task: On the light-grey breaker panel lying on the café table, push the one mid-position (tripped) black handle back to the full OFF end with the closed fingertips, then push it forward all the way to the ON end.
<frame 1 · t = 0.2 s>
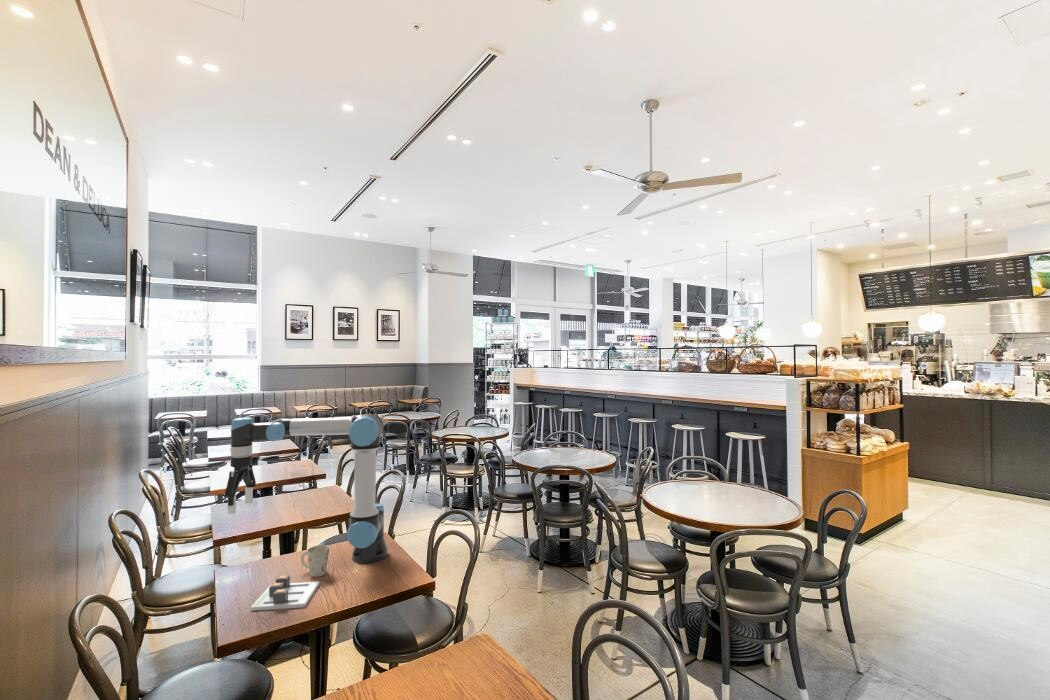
hand: (240, 508, 190), 28 cm above the table, fingers open, 13 cm apart
breaker 3: (280, 595, 167), point 3 cm above the table, slide at 0.0 cm
panel: (287, 596, 173), on the table
mug: (313, 573, 193), on the table
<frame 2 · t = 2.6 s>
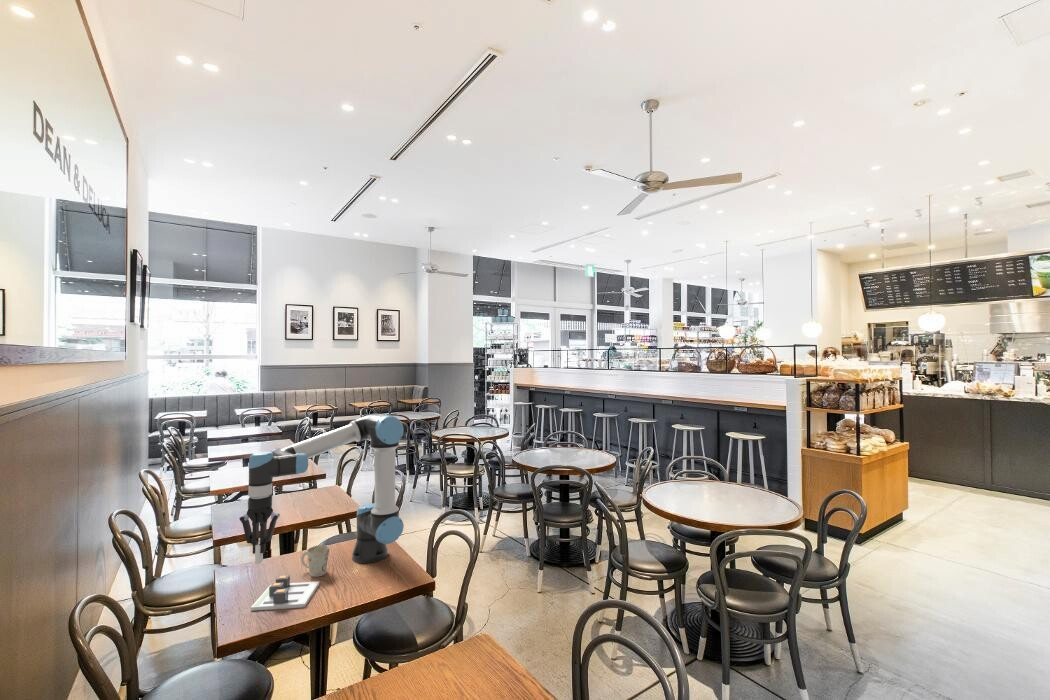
hand: (258, 562, 166), 16 cm above the table, fingers closed
nothing on the table moved.
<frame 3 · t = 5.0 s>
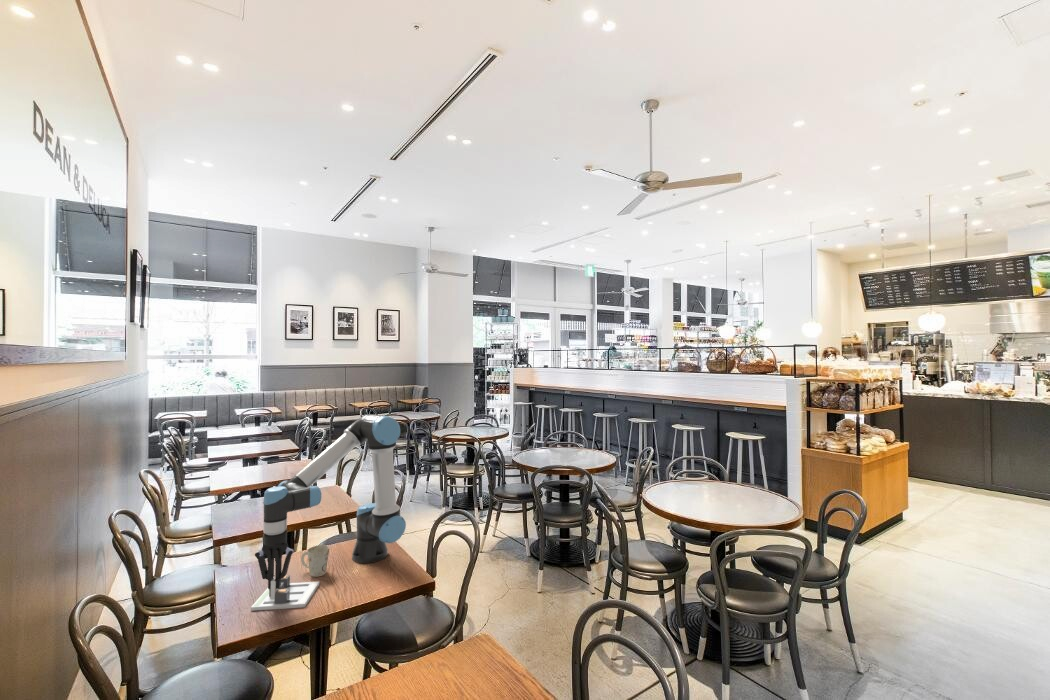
hand: (274, 597, 167), 3 cm above the table, fingers closed
breaker 3: (282, 595, 167), point 3 cm above the table, slide at -0.5 cm, touching gripper
everything else where it was.
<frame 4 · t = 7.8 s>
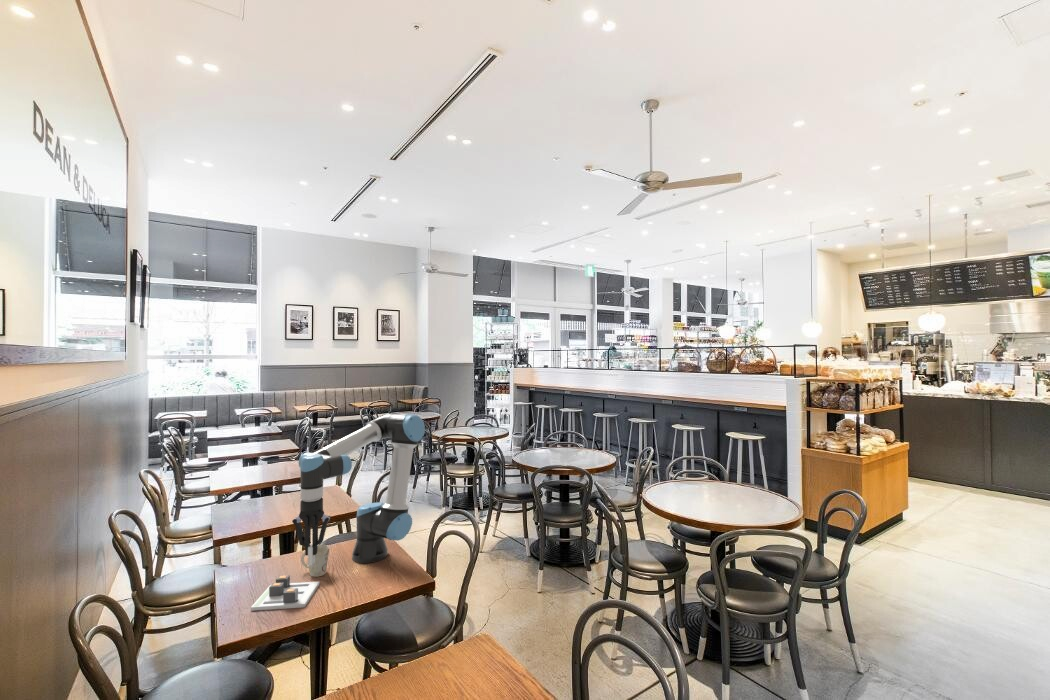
hand: (311, 563, 169), 14 cm above the table, fingers closed
breaker 3: (290, 595, 167), point 3 cm above the table, slide at -3.4 cm
everything else where it was.
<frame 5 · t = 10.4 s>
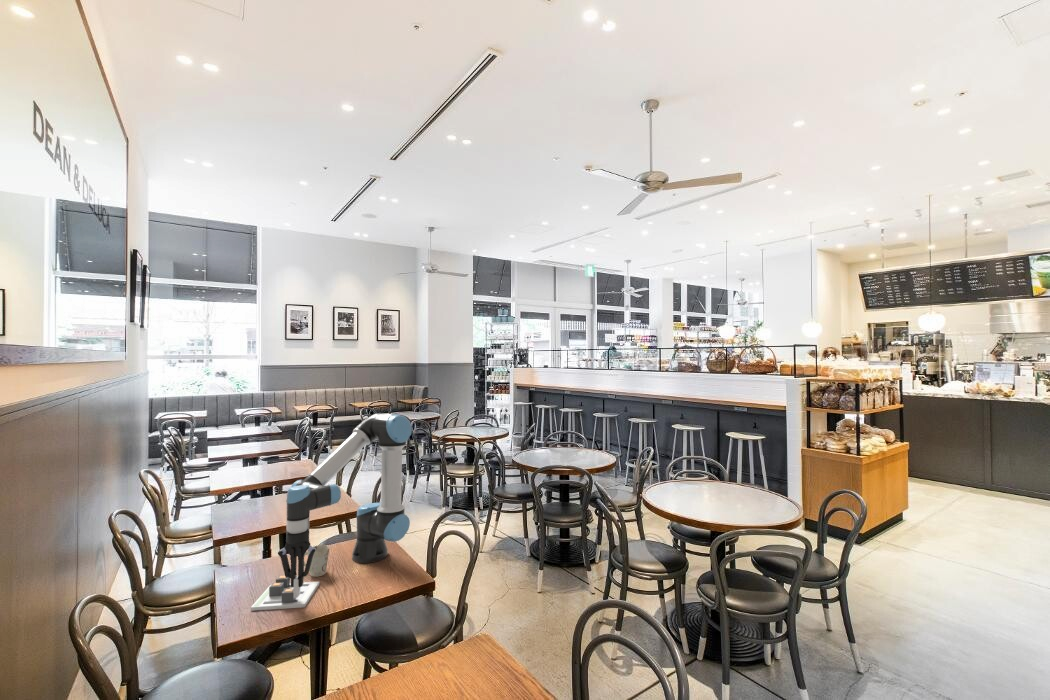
hand: (296, 595, 168), 3 cm above the table, fingers closed
breaker 3: (289, 595, 167), point 3 cm above the table, slide at -2.8 cm, touching gripper
everything else where it was.
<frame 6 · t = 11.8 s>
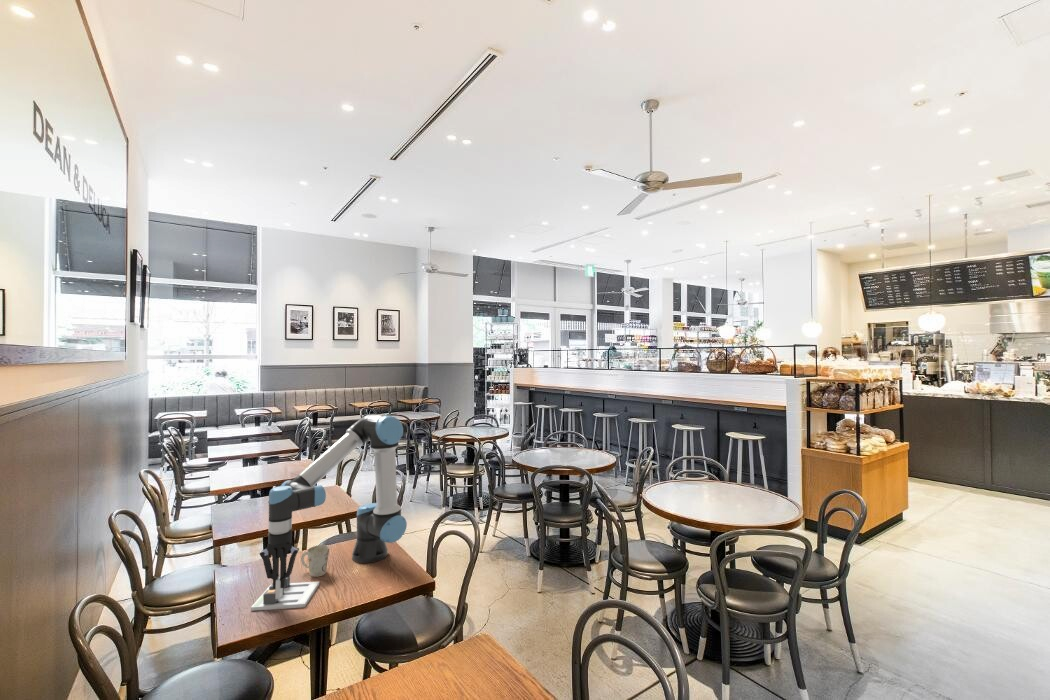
hand: (279, 596, 167), 3 cm above the table, fingers closed
breaker 3: (271, 596, 167), point 3 cm above the table, slide at 3.3 cm, touching gripper
everything else where it was.
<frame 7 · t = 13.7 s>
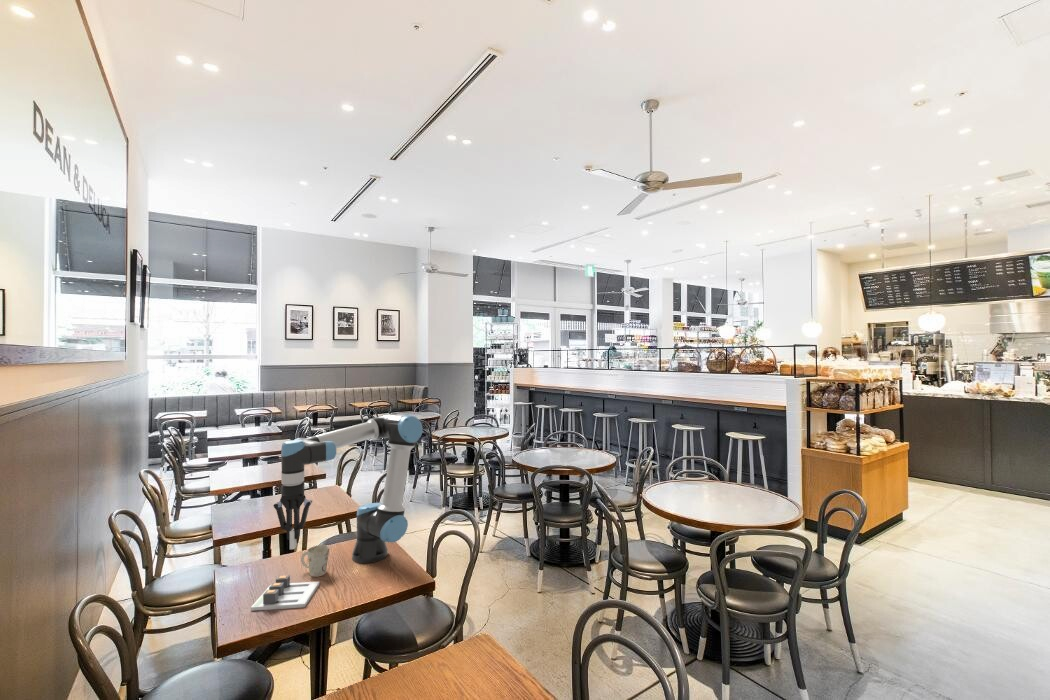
hand: (293, 547, 170), 20 cm above the table, fingers closed
breaker 3: (270, 596, 167), point 3 cm above the table, slide at 3.4 cm
everything else where it was.
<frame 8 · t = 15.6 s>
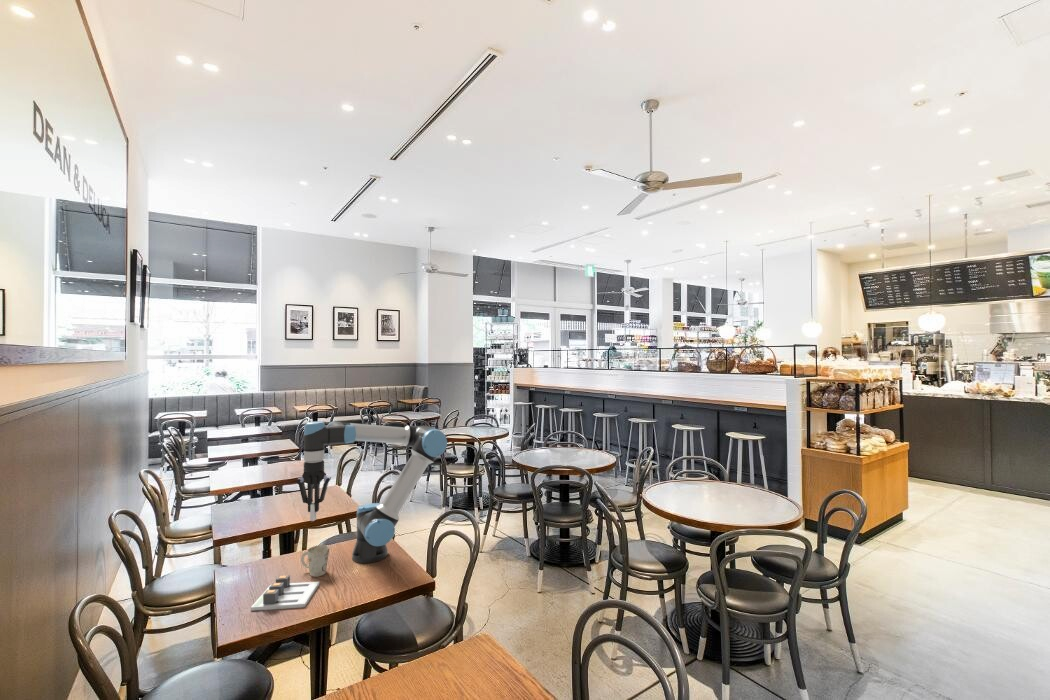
hand: (313, 519, 186), 24 cm above the table, fingers closed
nothing on the table moved.
at the end: breaker 3 slide at 3.4 cm; breaker 3 0.2 cm from the target spot on the panel, point 3.4 cm above the panel's base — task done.
